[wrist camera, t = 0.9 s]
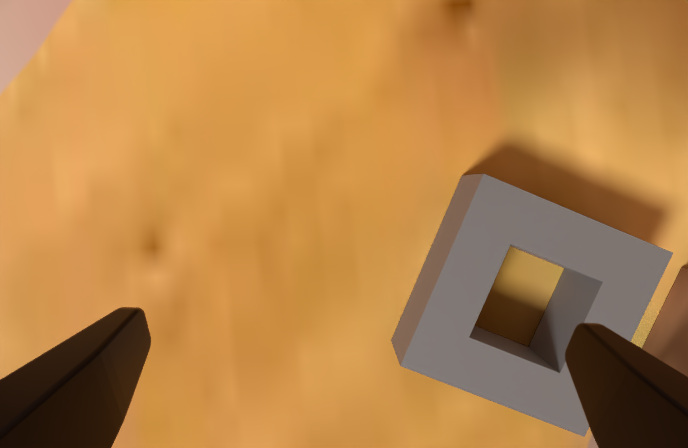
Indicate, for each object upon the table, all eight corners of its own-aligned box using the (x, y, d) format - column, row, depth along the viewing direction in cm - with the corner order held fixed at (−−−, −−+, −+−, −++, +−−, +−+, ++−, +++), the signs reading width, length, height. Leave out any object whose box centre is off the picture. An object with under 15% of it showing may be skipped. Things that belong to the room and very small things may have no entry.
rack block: (549, 402, 25) (584, 436, 22) (391, 340, 24) (400, 365, 21) (624, 243, 24) (673, 252, 21) (461, 175, 24) (483, 173, 20)
